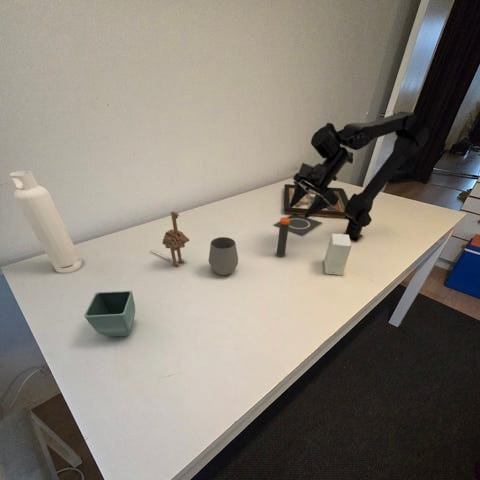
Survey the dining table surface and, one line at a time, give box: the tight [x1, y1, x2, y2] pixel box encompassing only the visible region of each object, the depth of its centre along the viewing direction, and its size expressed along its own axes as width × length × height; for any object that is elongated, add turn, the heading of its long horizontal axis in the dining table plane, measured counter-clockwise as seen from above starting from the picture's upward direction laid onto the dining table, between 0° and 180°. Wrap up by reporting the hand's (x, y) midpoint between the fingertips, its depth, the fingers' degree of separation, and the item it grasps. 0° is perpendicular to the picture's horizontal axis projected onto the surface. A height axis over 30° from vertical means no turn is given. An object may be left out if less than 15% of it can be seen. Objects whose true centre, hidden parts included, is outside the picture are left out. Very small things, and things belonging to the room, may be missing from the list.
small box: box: [323, 232, 352, 276], centre depth 85 cm, size 8×6×10 cm
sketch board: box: [273, 214, 322, 237], centre depth 112 cm, size 16×14×1 cm
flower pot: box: [83, 290, 136, 338], centre depth 64 cm, size 9×9×9 cm
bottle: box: [9, 169, 83, 274], centre depth 77 cm, size 8×8×28 cm
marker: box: [275, 217, 290, 258], centre depth 90 cm, size 3×3×13 cm
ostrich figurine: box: [151, 211, 190, 268], centre depth 85 cm, size 17×7×18 cm, turn 54°
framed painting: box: [283, 183, 350, 219], centre depth 129 cm, size 38×35×3 cm
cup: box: [208, 236, 239, 276], centre depth 83 cm, size 10×9×10 cm
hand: (297, 211), depth 87 cm, fingers open, 9 cm apart
